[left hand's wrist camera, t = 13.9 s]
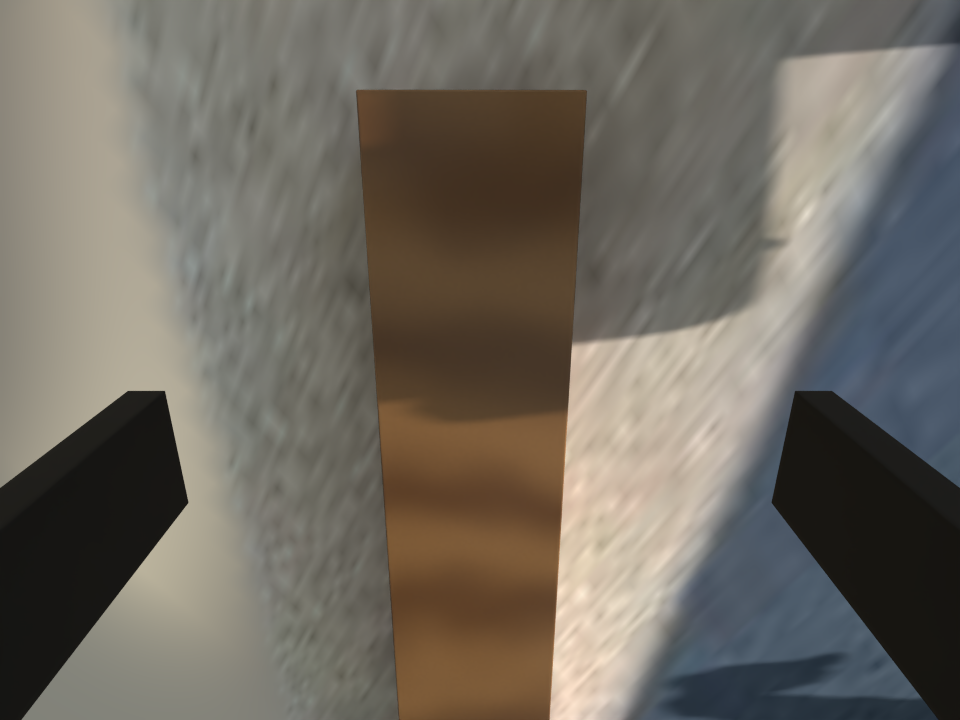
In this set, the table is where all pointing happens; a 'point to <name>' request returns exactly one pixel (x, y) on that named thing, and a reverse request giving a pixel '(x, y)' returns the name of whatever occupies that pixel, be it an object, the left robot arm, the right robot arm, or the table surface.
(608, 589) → the table surface
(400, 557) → the wooden beam
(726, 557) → the table surface
